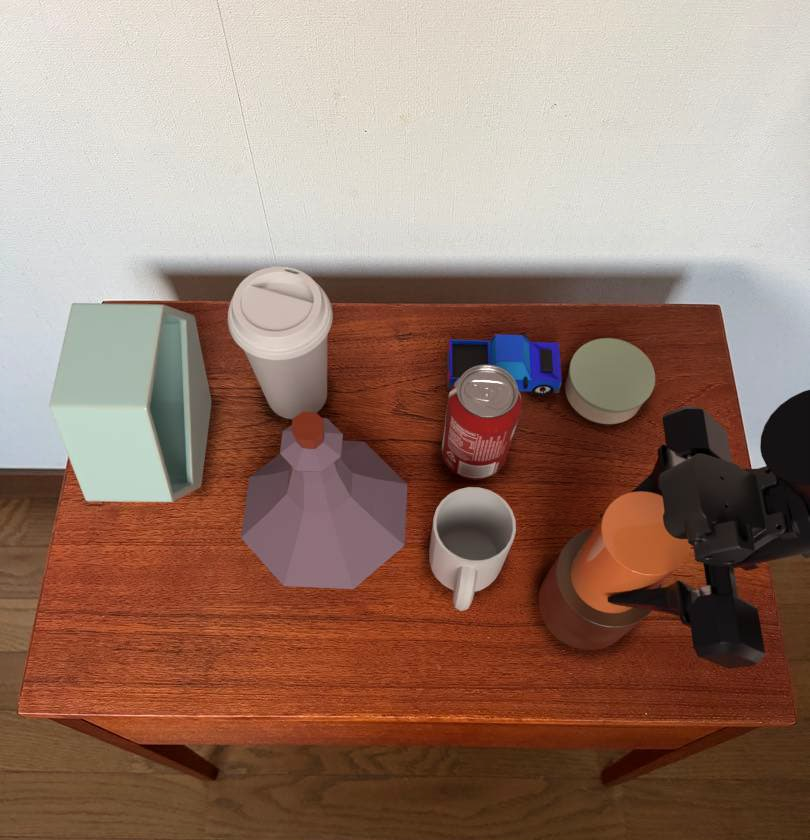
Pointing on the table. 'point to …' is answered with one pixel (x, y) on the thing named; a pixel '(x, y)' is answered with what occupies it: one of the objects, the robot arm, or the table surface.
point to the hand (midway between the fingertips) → (606, 559)
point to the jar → (609, 380)
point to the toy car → (509, 361)
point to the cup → (470, 541)
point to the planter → (132, 402)
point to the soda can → (480, 421)
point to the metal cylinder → (580, 607)
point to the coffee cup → (284, 337)
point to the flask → (324, 508)
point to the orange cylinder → (626, 551)
